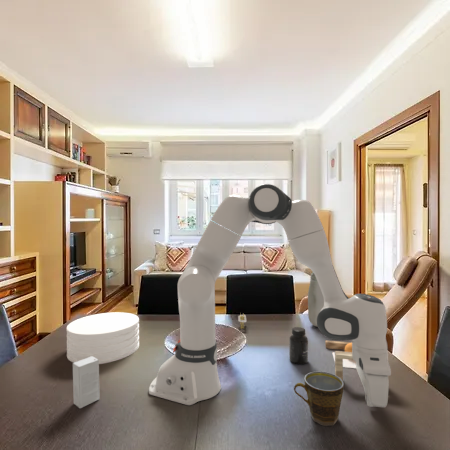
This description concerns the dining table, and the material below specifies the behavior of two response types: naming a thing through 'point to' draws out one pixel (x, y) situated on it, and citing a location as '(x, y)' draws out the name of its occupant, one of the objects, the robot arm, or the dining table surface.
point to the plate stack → (103, 337)
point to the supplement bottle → (298, 346)
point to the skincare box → (86, 381)
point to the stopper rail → (336, 344)
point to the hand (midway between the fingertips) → (369, 403)
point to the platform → (242, 320)
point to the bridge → (341, 362)
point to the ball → (348, 347)
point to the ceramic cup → (323, 396)
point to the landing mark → (347, 362)
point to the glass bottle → (314, 300)
